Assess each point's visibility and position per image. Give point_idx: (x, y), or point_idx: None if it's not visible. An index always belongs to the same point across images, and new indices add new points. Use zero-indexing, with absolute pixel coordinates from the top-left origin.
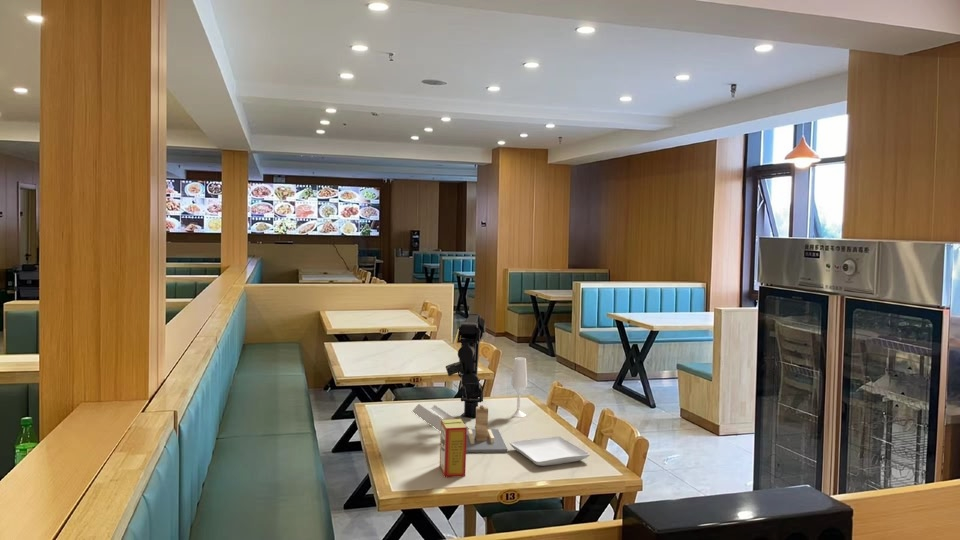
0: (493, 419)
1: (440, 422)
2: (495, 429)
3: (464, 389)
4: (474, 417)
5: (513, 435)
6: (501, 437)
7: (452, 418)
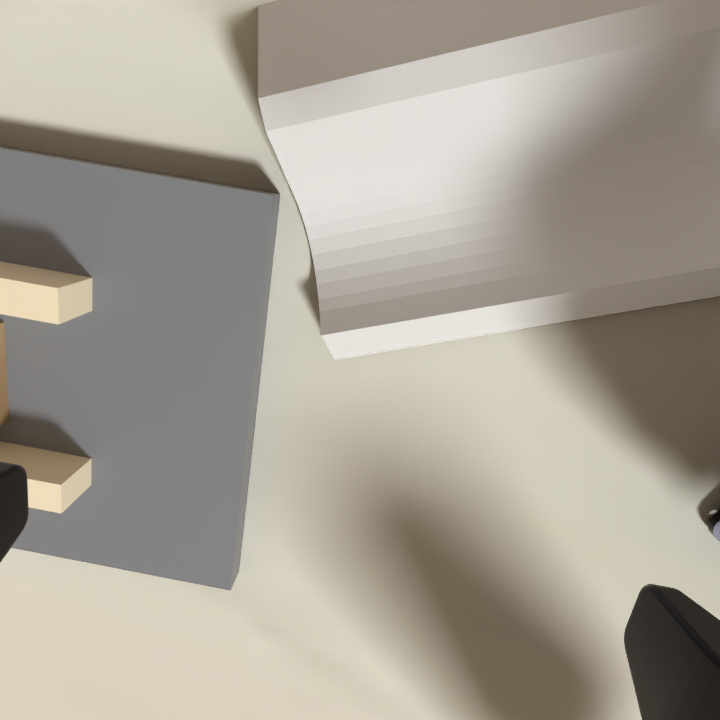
0: (609, 655)
1: (493, 13)
2: (226, 569)
3: (694, 666)
4: (714, 517)
5: (151, 649)
6: None
7: (698, 254)
